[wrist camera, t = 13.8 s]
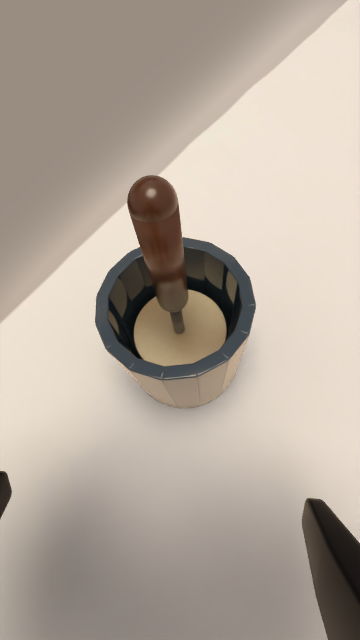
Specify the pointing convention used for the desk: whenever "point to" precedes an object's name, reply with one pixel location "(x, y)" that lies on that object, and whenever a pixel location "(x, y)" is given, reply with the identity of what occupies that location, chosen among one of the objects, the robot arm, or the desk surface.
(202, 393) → the faceted dark-rimmed cup
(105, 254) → the desk surface
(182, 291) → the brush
